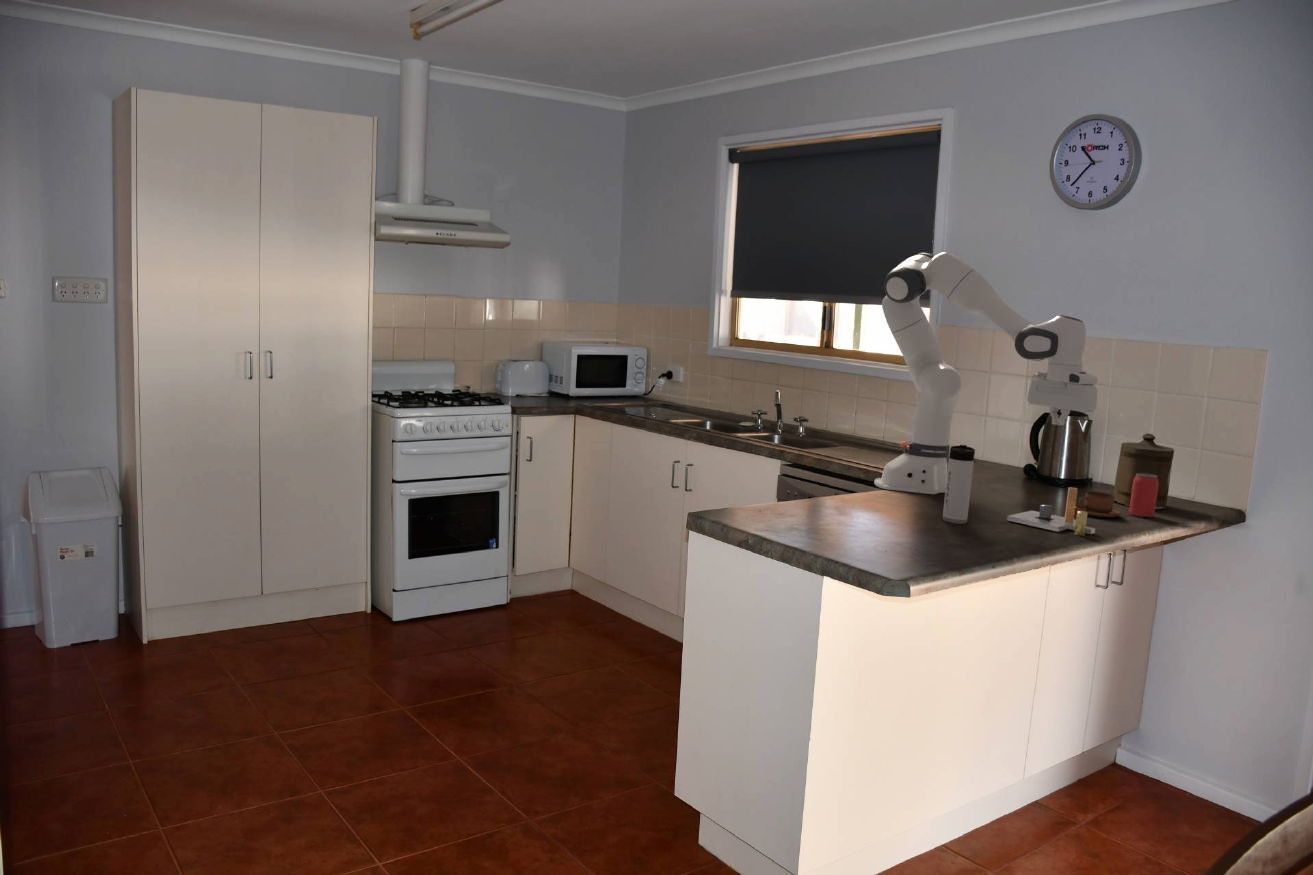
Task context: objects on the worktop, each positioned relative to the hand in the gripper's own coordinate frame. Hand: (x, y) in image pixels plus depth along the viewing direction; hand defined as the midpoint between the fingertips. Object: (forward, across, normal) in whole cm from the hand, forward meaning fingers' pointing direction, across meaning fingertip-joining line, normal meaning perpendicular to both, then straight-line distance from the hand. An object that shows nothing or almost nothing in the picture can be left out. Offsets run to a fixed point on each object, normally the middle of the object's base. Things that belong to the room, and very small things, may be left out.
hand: (1057, 424), depth 274 cm
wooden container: (+25, -2, +44) cm, 51 cm away
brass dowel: (+26, +21, -13) cm, 36 cm away
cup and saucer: (+26, +5, +15) cm, 30 cm away
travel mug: (+26, 0, -36) cm, 44 cm away
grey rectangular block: (+26, +9, -12) cm, 30 cm away
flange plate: (+25, +12, -12) cm, 30 cm away
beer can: (+26, +10, +29) cm, 40 cm away
